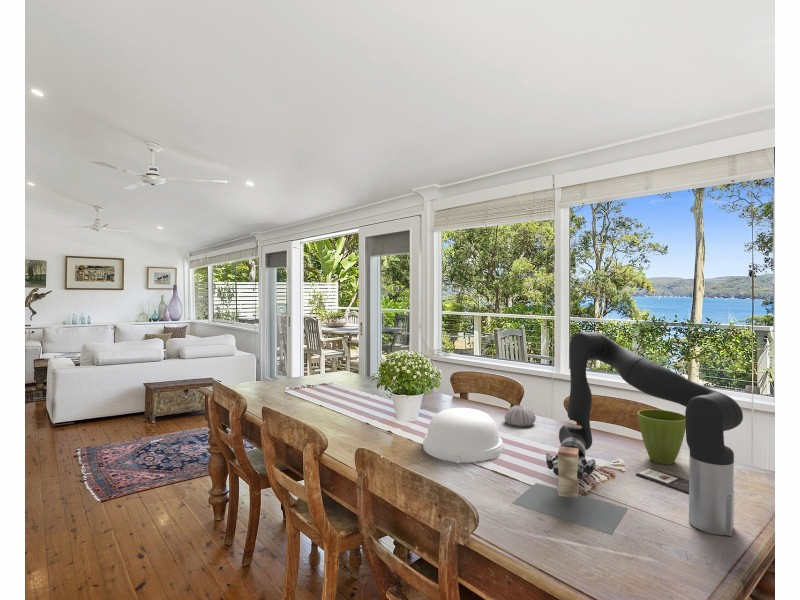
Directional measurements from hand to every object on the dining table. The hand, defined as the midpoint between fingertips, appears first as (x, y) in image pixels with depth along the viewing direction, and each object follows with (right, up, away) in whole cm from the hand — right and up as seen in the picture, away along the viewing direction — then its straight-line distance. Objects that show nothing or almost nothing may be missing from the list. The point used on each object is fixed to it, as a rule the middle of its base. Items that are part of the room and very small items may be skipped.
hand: (567, 473), depth 125 cm
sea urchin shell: (+7, -8, +79) cm, 80 cm away
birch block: (+1, -6, +2) cm, 7 cm away
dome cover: (-22, -9, +49) cm, 54 cm away
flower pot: (+45, -9, +35) cm, 58 cm away
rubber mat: (+1, -10, +1) cm, 10 cm away
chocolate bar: (+39, -10, +17) cm, 43 cm away
